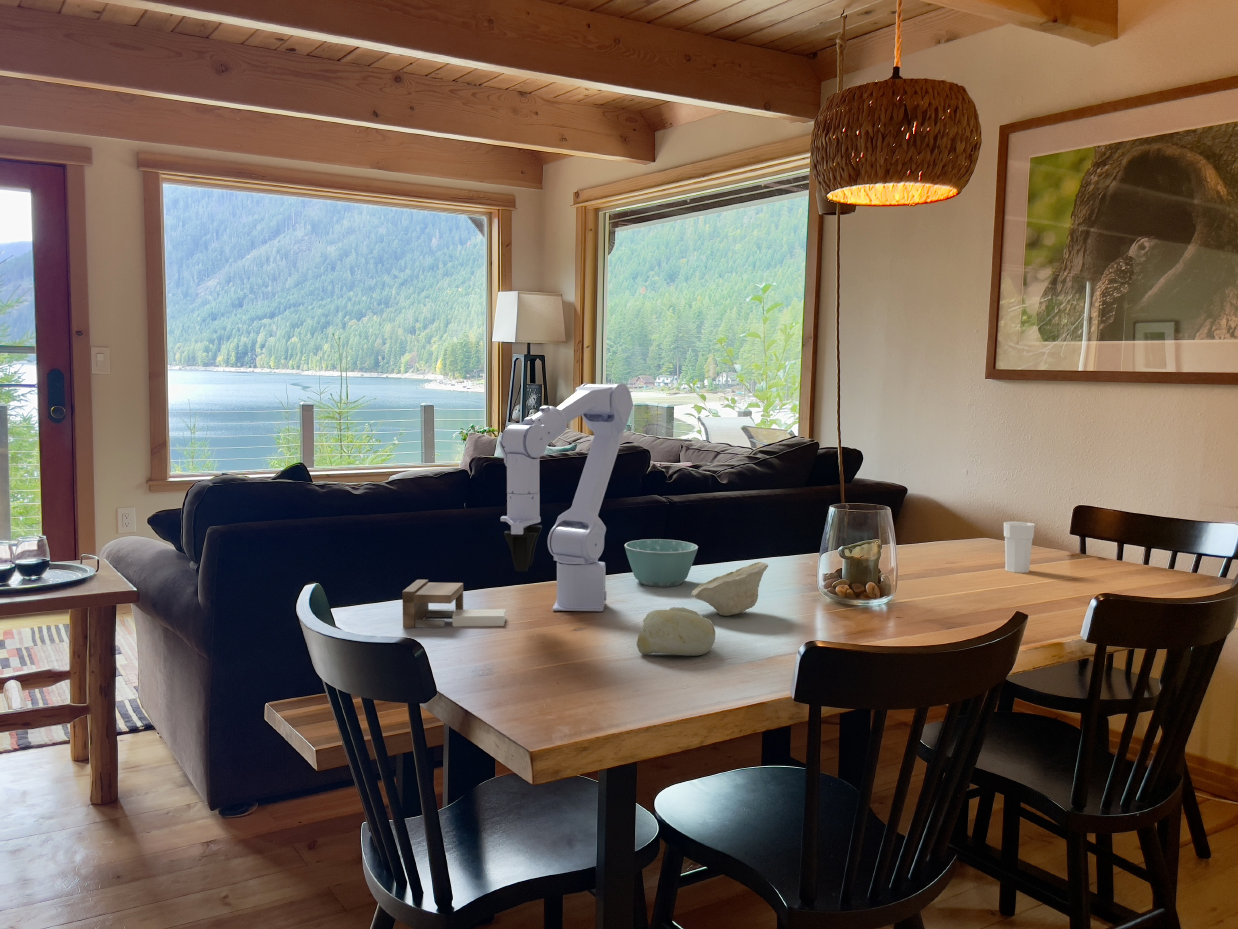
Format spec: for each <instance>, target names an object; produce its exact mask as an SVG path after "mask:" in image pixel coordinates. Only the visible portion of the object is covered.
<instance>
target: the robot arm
mask: <svg viewBox="0 0 1238 929" xmlns="http://www.w3.org/2000/svg"><path fill="white" fill-rule="evenodd" d="M633 406H634V402H633V398H632V393H631V391H630V388H629V386H627V385H626V384H625V383H588V382H584V383H583V384H581V385H580V386H577V387H576V388H575V390H574V392H573V394H571V396H569V397H568V398H567V399H565V400H564V401H563V402H562V403H560V404H559V405H558V406H553V405H542V406H540V407H539V408H538V409H539V411H538V412H536V413H534V414H533V415H532V416H530V417H529V416H527V417H525V418H524V419H523V421H522V422H520V423H519V424H510V425H508V426H507V427H506V428H505V429H504V430H503V431H502V434H501V438H500V440H499V443H498V444H499V448H500V451H501V452H502V454H503V463H504V465H505V467H506V494H507V495H506V500H507V502H506V509H507V510H506V513H507V514H506V515H502V516H501V517H500V522H506V523H508V525H509V526H510V528H509V530H505V531H504V532H503V535H504V538H505V540H506V541H507V544H508V547H509V549H510V552H511V558H512V563H513V567H514V570H515V572H528V571H529V567H532V565H533V561H534V556H535V551H536V550H535V549H536V545H537V541H538V538H539V535H540V534H541V531H542V529H543V525H540V524H538V523H540V522H541V521H542V520H541V519H542V518H541V516H540V515H541V514H540V512H541V511H540V502H541V501H540V499H541V498H540V457H542V456H543V455H544V454H545V452H546V450H547V446H548V445H550V443H551V442H553V441H554V440H555V439H557V438H558V437H560V436H561V435H563V434H564V433H565V432H566V429H567V428H568V427H567V426H568V424H569V423H570V422H572V421H573V420H576V419H577V418H578V417H582V419H583V421H584V423H585V425H586V427H587V429H588V430H590V431H592V432H593V435H594V436H593V439H592V441H591V445H590V448H589V451H588V454H587V457H586V460H585V464H584V467H583V470H582V473H581V476H580V479H579V482H578V486H577V489H576V491H575V494H574V498H573V500H572V505H571V507H570V508H569V509H567V510H565V511H564V512H562V513H561V514H559V515H558V516H557V519H556V521H555V524H554V525H553V527H552V528H551V529H550V531H549V534H548V536H547V548H548V552H549V553H550V554H551V555H552V556H553V561H556V601H555V603H554V604H553V606H552V611H554V612H555V611H557V612H559V611H561V612H562V611H563V612H565V611H567V612H603V611H604V609H605V605H606V603H607V602H606V601H607V591H606V562H604V561H599V558H600V557H601V555H602V554H603V551H604V548H605V536H606V531H607V527H606V525H605V524H604V522H603V521H602V519H601V518H600V517H599V514H600V509H601V506H602V503H603V500H604V497H605V493H606V491H607V488H608V485H609V484H608V483H609V481H610V478H611V475H612V471H613V468H614V466H615V462H616V459H617V456H618V452H619V450H620V446H621V442H622V439H623V436H624V431H625V430H626V429H627V427H628V426H627V425H628V423H629V419H630V417H631V413H632V411H633V410H632V409H633Z"/></svg>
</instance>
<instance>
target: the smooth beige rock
mask: <svg viewBox="0 0 1238 929" xmlns="http://www.w3.org/2000/svg"><path fill="white" fill-rule="evenodd" d="M642 622H643V623H642V631H640V633H639V634H638V636H637V641H636V647H637V650H638V652H639V653H640V654H641V655H642V656H647V655H651V654H662V655H677V656H690V657H691V656H693V657H694V656H695V657H697V656H698V657H699V656H701V655H705V654H707V653H708V652H709V651H711V649H712V647H713V646H714V644H715V641H716V629H715V626H714V624H713V622H712V621H711V620H710V619H709V618H706V617H703V616H701V614H700V613H699V612H697V611H696V610H693V609H689V608H686V607H683V606H682V607H676V606H674V607H670V608H669V609H654V610H652V611H650V612H647V614H646V615H645V617H644V618H643V619H642Z"/></svg>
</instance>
